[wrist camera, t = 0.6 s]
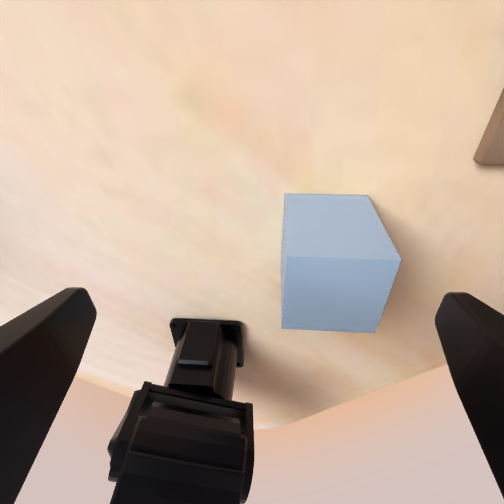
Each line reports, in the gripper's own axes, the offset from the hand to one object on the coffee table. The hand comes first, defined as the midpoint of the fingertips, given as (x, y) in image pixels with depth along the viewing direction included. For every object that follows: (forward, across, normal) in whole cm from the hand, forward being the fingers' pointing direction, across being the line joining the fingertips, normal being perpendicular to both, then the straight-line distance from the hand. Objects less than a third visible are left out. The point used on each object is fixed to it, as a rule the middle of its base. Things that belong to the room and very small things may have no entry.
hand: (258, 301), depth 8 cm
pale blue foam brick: (+13, -4, +5) cm, 14 cm away
